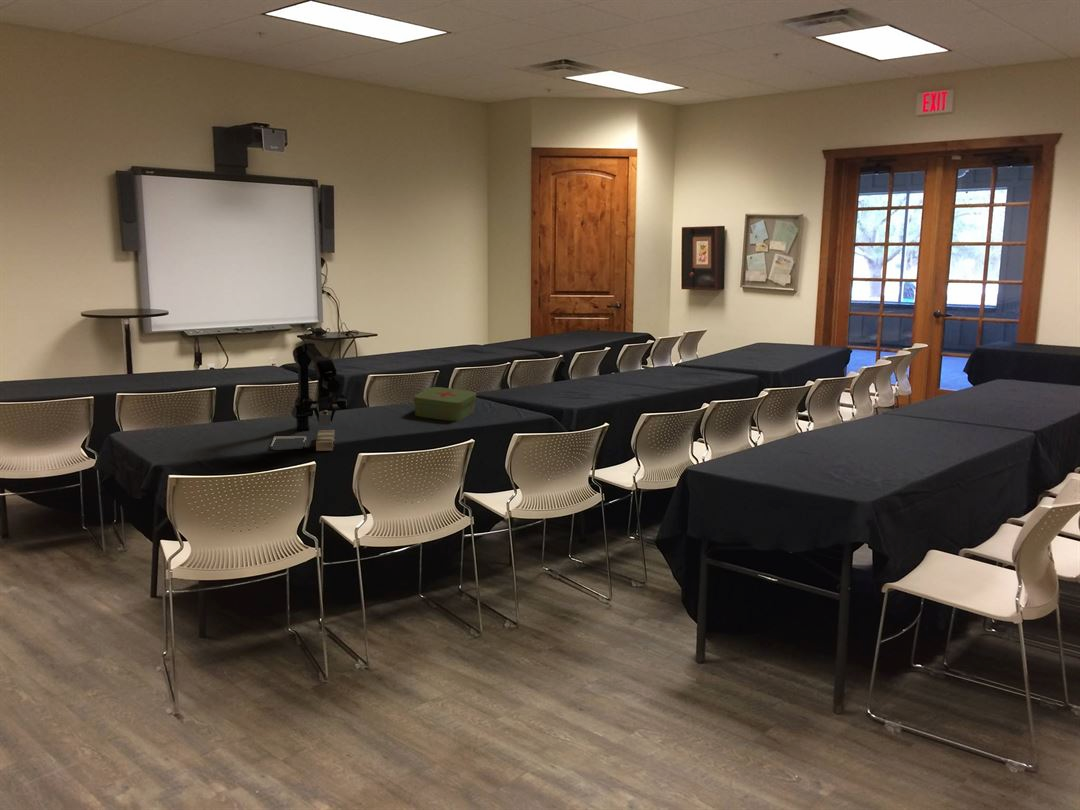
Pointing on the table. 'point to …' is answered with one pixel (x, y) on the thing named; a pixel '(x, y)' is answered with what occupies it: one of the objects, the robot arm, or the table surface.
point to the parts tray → (287, 438)
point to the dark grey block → (325, 417)
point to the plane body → (325, 440)
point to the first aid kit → (444, 403)
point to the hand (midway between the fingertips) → (325, 421)
